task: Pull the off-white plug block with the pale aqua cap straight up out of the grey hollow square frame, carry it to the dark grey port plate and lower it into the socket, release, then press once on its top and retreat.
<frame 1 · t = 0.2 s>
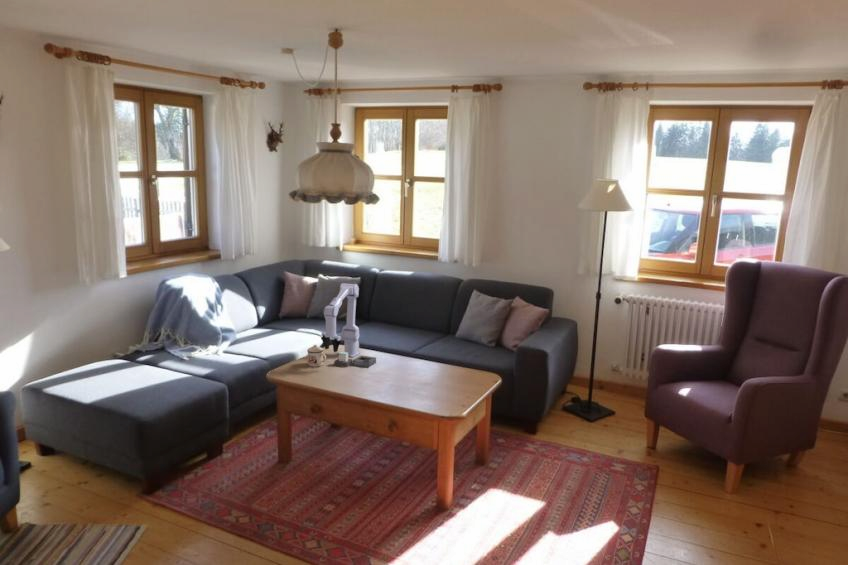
hand: (331, 350, 347), 10 cm above the table, fingers open, 7 cm apart
grey hollow square frame: (343, 364, 354), on the table
plug: (343, 358, 354), in the grey hollow square frame
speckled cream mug: (317, 365, 353), on the table
port: (364, 363, 356), on the table
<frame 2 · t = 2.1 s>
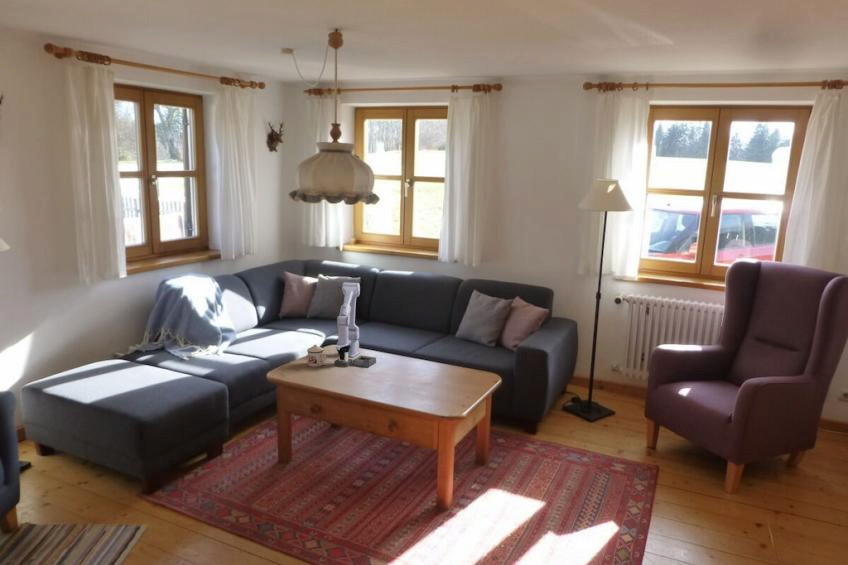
hand: (343, 358, 354), 3 cm above the table, fingers closed on plug, 3 cm apart
plug: (343, 358, 354), in the grey hollow square frame, touching gripper
everything else where it was.
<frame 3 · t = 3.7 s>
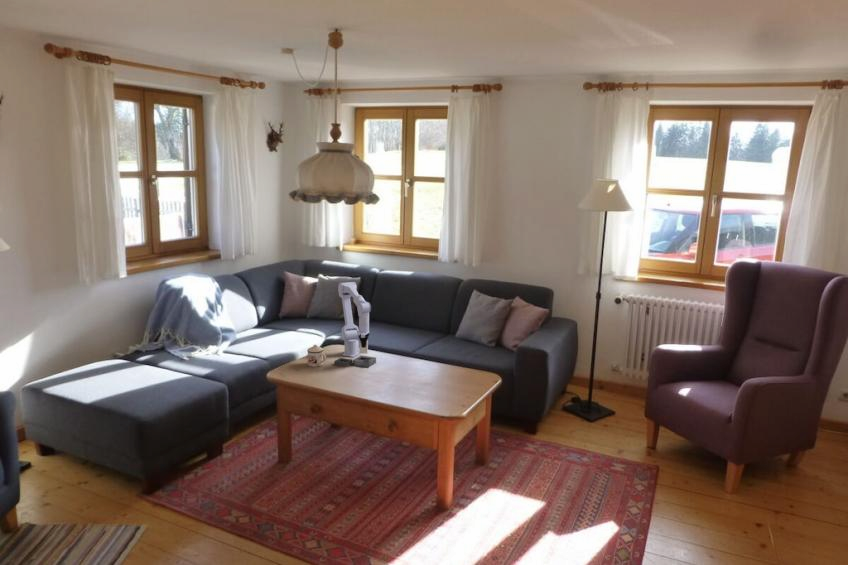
hand: (364, 346, 354), 10 cm above the table, fingers closed on plug, 3 cm apart
plug: (363, 346, 354), point 10 cm above the table, touching gripper
everything else where it was.
when the fingers open (4 cm above the table, at t = 5.5 s): plug stays where it is, resting in port.
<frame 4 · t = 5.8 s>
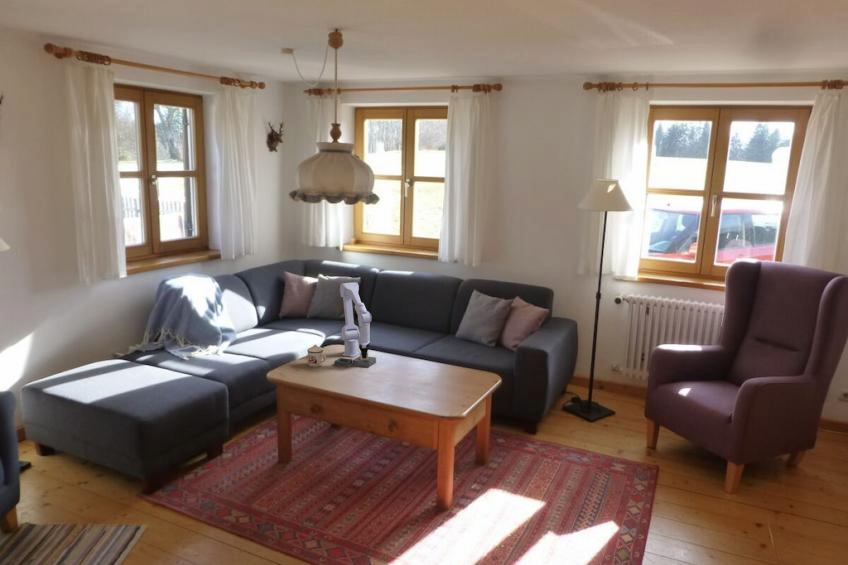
hand: (364, 356, 355), 4 cm above the table, fingers open, 5 cm apart
plug: (364, 358, 356), in the port
everything else where it was.
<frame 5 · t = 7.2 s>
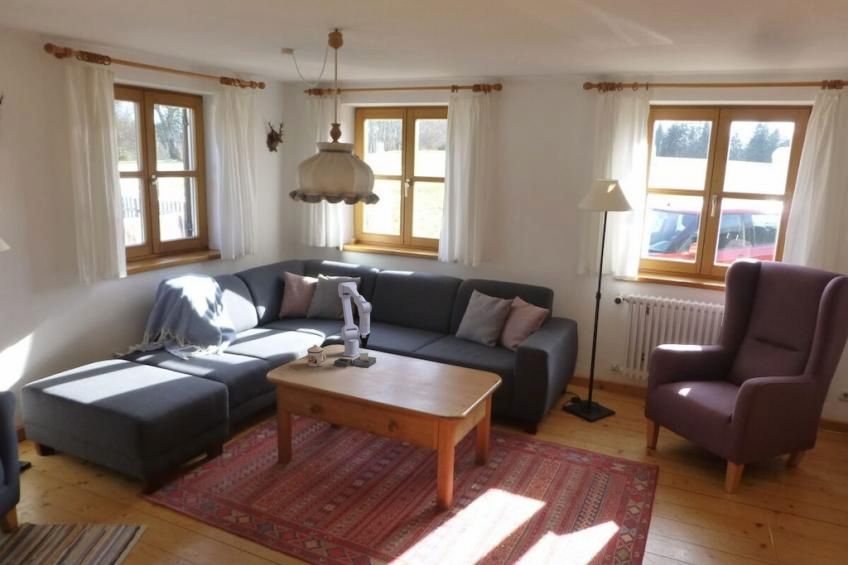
hand: (364, 346, 354), 10 cm above the table, fingers open, 4 cm apart
nothing on the table moved.
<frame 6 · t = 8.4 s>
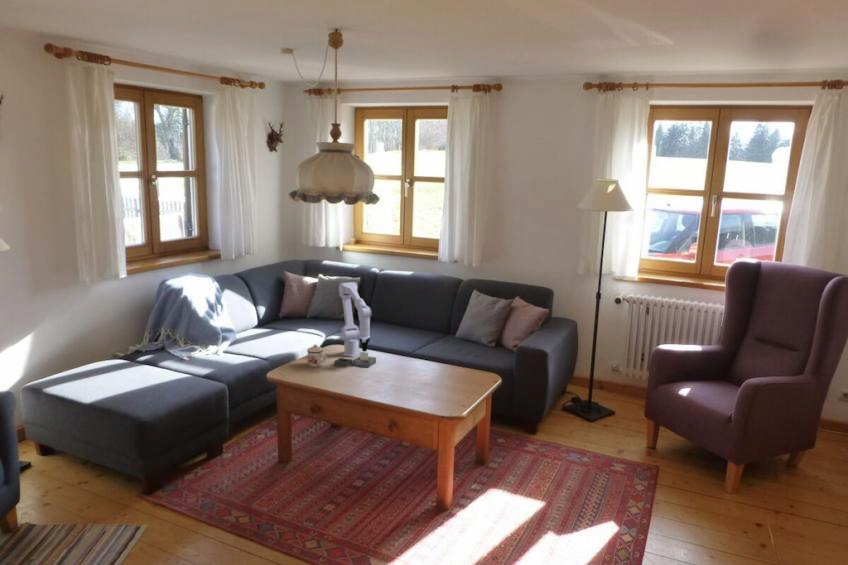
hand: (364, 351, 355), 8 cm above the table, fingers closed
nothing on the table moved.
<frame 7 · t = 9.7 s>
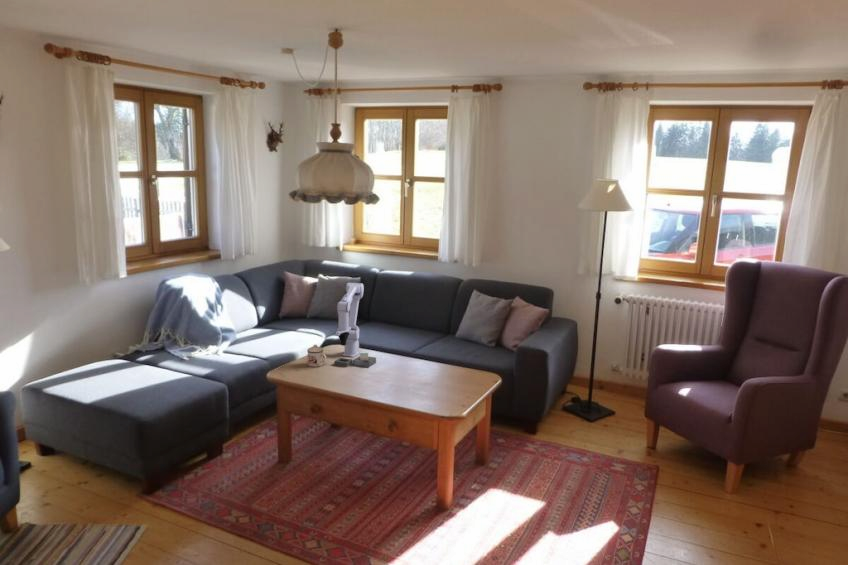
hand: (343, 345, 356), 10 cm above the table, fingers closed
nothing on the table moved.
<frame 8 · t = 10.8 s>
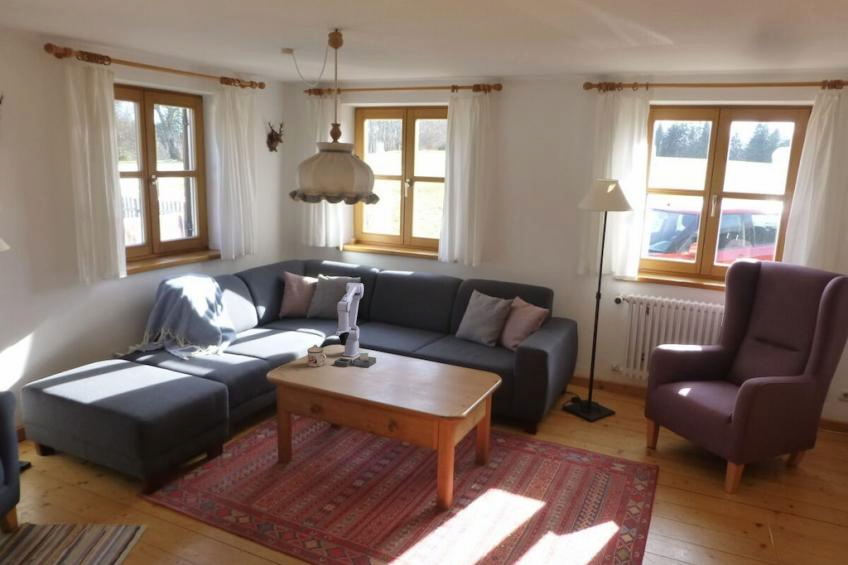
hand: (343, 345, 356), 10 cm above the table, fingers closed
nothing on the table moved.
at the end: plug 0.2 cm off-centre on the port, point 3.5 cm above the port's base; plug tilted 0°; the gripper is holding nothing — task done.
